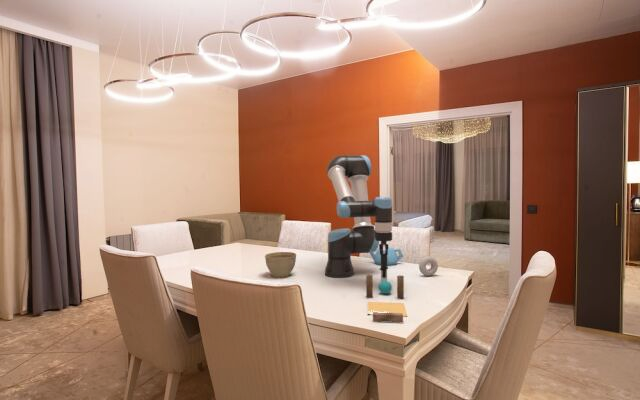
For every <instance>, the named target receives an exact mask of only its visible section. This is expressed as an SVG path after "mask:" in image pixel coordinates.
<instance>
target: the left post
mask: <svg viewBox="0 0 640 400" xmlns="http://www.w3.org/2000/svg"><path fill="white" fill-rule="evenodd" d="M365 278H366V279H365V280H366V281H365V282H366V283H365V284H366V285H365V288H366V290H365V292H366V293H365V294H366V296H365V297H366V298H367V299H372V298H373V297H374V293H373V291H374V290H373V287H374V285H373V283H374V282H373V275H372V274H366V275H365Z"/></svg>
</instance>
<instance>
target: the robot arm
mask: <svg viewBox="0 0 640 400" xmlns="http://www.w3.org/2000/svg"><path fill="white" fill-rule="evenodd" d="M372 169H373V168H372V163H371V160H370V158H369V157H368V156H367V155H362V154H359V155H357V154H356V155H354V154H353V155H351V154H349V155H347V154H346V155H336V156H335V157H333V158H332V159H331V160H330V162H328V165H327V167H326V174H327V177H328V178H329V180H331V184H332V186H333V188H334V191H335V194H336V198H337V200H338V201H337V203H336V215H337V216H338V217H339V218H346V219H347V218H354V226H353V227H352V228H351V229H352V230H351V229H350V228H345V227H344V228H337V229H333V230H331V231H329V232H328V233H327V262H326V265H325V269H324V275H325V276H326V277H330V278H339V279H340V278H341V279H342V278H349V277H352V276H354V275H355V269H354V266H353V263H352V260H351V254H352V255H353V254H370V253H371V252H373V253H376V252H377V250H378V249H380V255H381V265H380V268H379V271H380V282H382V281H388V269H389V266H387V255H388V247H389V244H388V243H387V242H392V241H393V232H392V231H393V227H394V224H393V200H392V197H390V196H376V197H375V199H372V200H369V192H368V184H367V181H368V180H369V177H370V176H371V174H372ZM349 183H350V185H349ZM372 217H373V218H374V225H373V224H372V223H371V221H372V220H371V218H372Z"/></svg>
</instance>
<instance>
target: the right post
mask: <svg viewBox="0 0 640 400" xmlns="http://www.w3.org/2000/svg"><path fill="white" fill-rule="evenodd" d="M396 277H397V278H396V279H397V281H396V285H397V286H396V288H397V289H396V294H397V295H396V298H397V299H399V300H403V299H404V298H405V296H404V295H405V294H404V293H405V289H404V288H405V286H404V285H405V283H404V282H405V276H404V275H401V274H400V275H397V276H396Z"/></svg>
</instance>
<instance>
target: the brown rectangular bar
mask: <svg viewBox="0 0 640 400" xmlns="http://www.w3.org/2000/svg"><path fill="white" fill-rule="evenodd" d="M373 321H392V322H391V323H398V322H403V323H404V316H403V314H402V313H378V312H373V315H372V322H373Z"/></svg>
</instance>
